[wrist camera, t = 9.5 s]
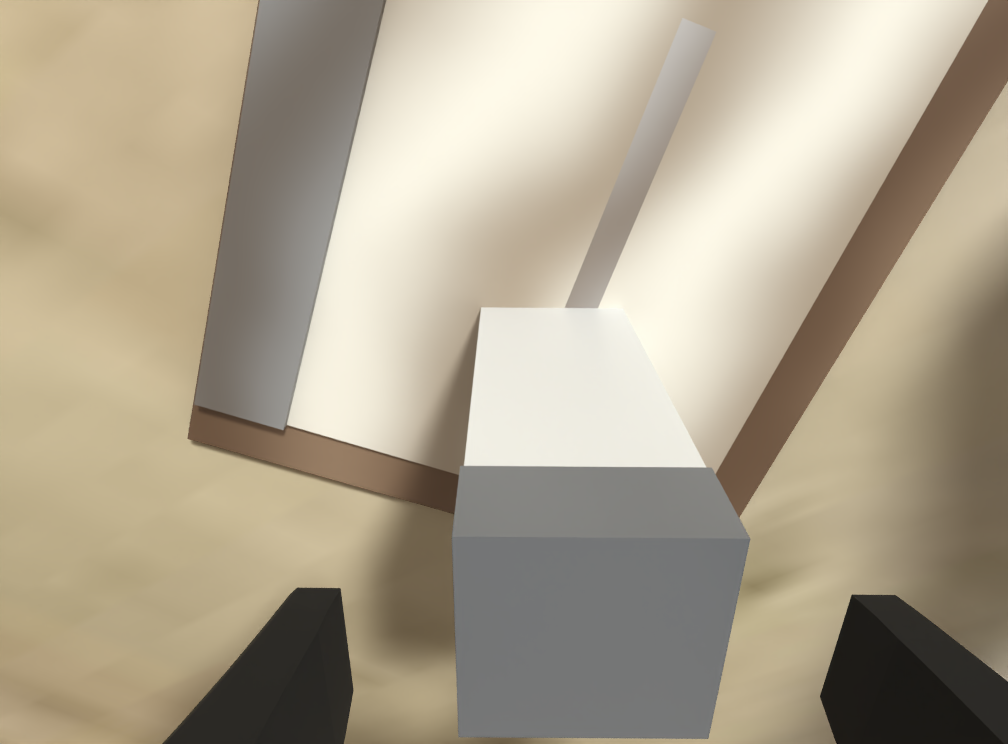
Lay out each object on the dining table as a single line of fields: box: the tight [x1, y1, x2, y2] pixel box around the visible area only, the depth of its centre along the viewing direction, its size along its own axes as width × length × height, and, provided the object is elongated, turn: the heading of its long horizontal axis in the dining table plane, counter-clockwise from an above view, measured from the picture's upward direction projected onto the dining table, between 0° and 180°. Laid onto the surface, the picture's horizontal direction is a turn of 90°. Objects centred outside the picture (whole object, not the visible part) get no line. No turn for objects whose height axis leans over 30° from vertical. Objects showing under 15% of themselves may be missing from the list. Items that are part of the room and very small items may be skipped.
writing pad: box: [188, 0, 1008, 517], centre depth 15 cm, size 16×18×1 cm
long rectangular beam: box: [452, 307, 750, 739], centre depth 13 cm, size 4×4×9 cm
